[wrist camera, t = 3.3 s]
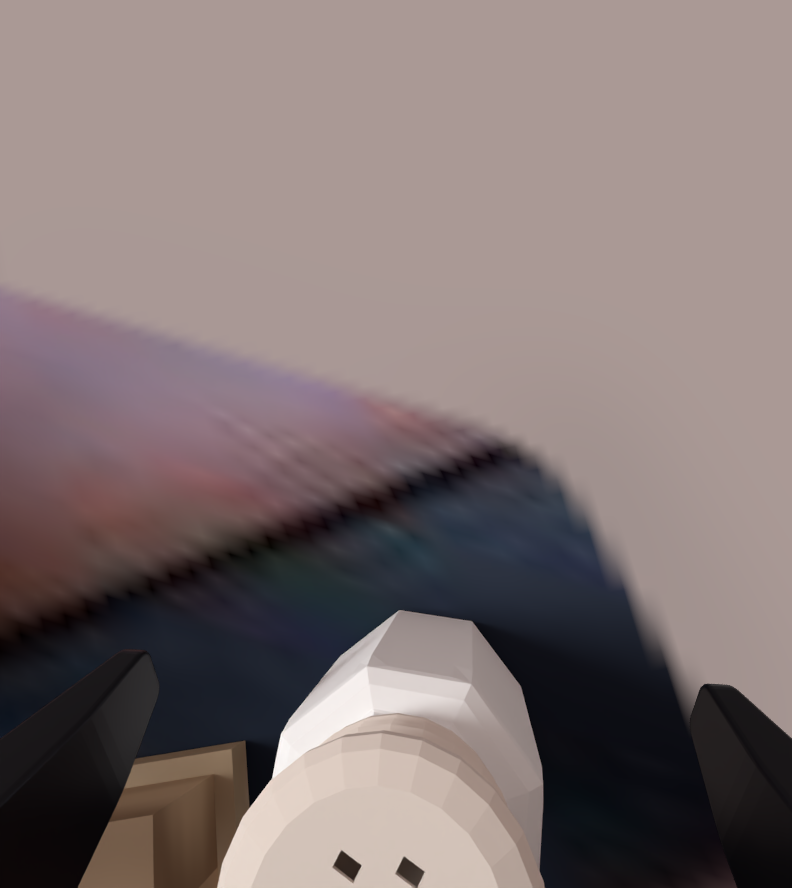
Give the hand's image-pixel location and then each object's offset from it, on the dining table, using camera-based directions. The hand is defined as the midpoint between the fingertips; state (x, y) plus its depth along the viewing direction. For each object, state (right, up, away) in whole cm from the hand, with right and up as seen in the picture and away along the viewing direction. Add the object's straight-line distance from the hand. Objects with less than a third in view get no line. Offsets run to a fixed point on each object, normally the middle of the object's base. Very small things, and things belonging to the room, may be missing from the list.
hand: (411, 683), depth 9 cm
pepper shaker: (+1, -3, +6) cm, 7 cm away
